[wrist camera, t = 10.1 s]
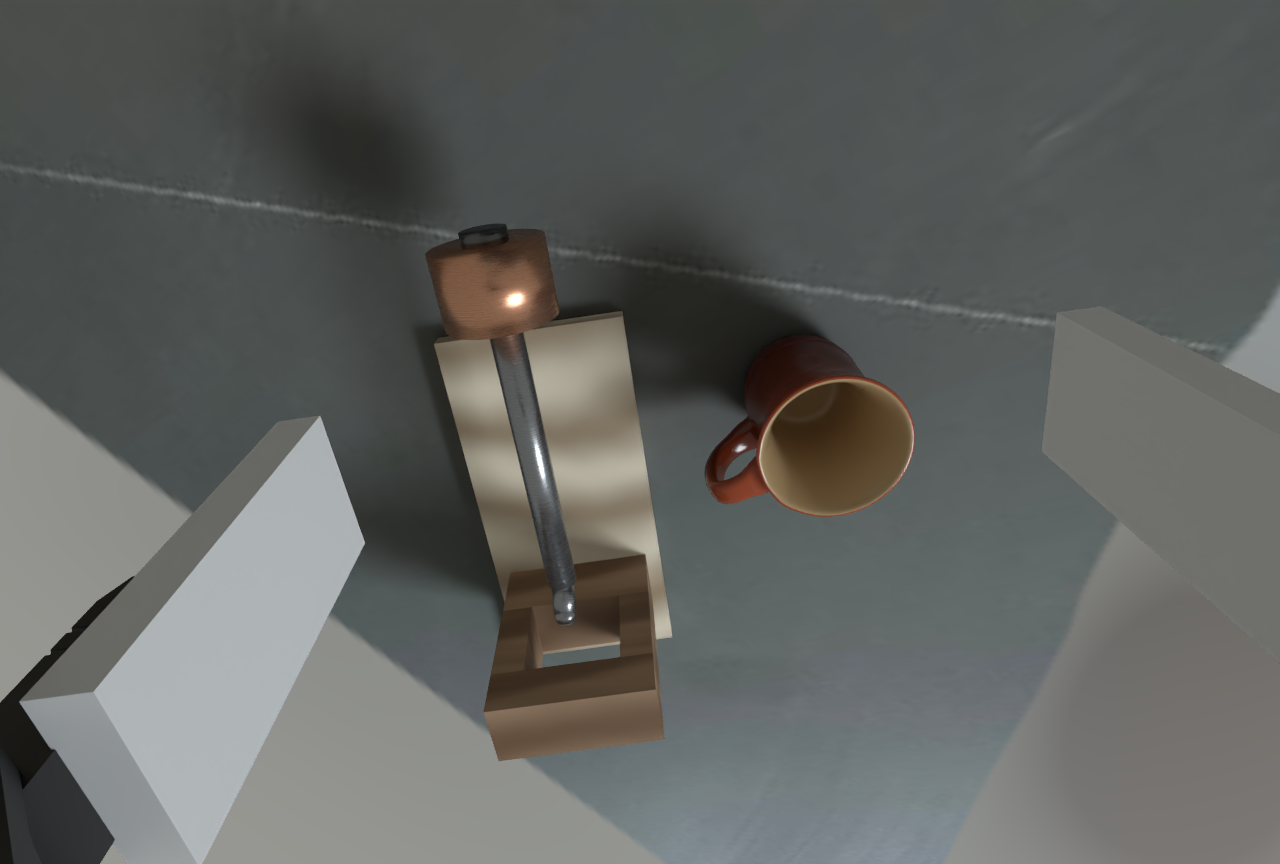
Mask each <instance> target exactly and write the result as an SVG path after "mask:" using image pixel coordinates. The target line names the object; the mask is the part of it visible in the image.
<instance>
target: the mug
mask: <svg viewBox="0 0 1280 864" xmlns="http://www.w3.org/2000/svg"><path fill="white" fill-rule="evenodd" d="M744 399H745V408H746V411H747V414H748V416H747V418H746V419H744V420H743V421H742V422H740V423H739V424H738V425H737V426H736V427H735V428H734V429H733V430H732V431H731V432H730V433H729V434H728V435H727V436H726V437H725V438H724V439H723V440H722V441H721V442H720V443H719V444H718V445H717V446H716V447H715V449H714V450H713V451H712V453H711V454H710V456H709V458H708V460H707V463H706V466H705V481H706V485H707V487H708V489H709V491H710V492H711V494H712V495H713V497H714V498H715V499H716V500H717V501H719V502H721V503H723V504H734V503H738V502H741V501H743V500H746V499H748V498H751V497H754V496H758V495H762V494H765V493H767V492H770V493H771V495H772V496H773V497H774V498H775V499H776V500H777V501H778V502H779V503H780V504H782V505H783V506H785V507H787V508H789V509H791V510H794V511H797V512H800V513H803V514H807V515H812V516H820V517H832V516H840V515H845V514H849V513H853V512H856V511H859V510H861V509H863V508H866V507H868V506H869V505H871V504H873V503H875V502H876V501H878V500H879V499H881V498H882V497H883V496H885V495H886V494H887V493H888V492H889V491H890V490H891V489H892V488H893V487H894V486H895V485H896V484H897V483H898V481H899V480H900V479H901V477H902V476H903V474H904V473H905V471H906V469H907V467H908V465H909V463H910V460H911V457H912V454H913V449H914V442H915V432H914V425H913V421H912V418H911V415H910V413H909V411H908V409H907V407H906V405H905V404H904V402H903V401H902V400H901V399H900V397H899V396H898V395H897V394H896V393H894V392H893V391H892V390H891V389H889V388H888V387H887V386H885V385H883V384H881V383H880V382H877V381H875V380H873V379H870V378H866V377H865V376H864V375H863V374H862V372H861V371H860V369H859V368H858V367H857V366H856V364H855V362H854V361H853V359H852V358H851V357H850V356H849V355H848V354H847V353H846V352H845V351H844V350H843V349H841V348H840V347H838V346H837V345H836V344H834V343H832V342H831V341H829V340H827V339H825V338H822V337H817V336H812V335H793V336H788V337H785V338H782V339H779V340H777V341H775V342H774V343H772V344H770V345H769V346H767V347H766V348H765V349H764V350H763V351H762V352H761V353H760V354H759V355H758V356H757V357H756V359H755V360H754V362H753V363H752V365H751V367H750V369H749V371H748V374H747V377H746V382H745V389H744ZM755 448H757V450H756V457H754V458H753V459H752V460H751V462H750V463H749V464H748V465H747V467H746V468H745V469H744V470H743V471H742V472H741V473H739V474H738V475H736V476H735V477H733V478H730V479H728V480H724V475H725V472H726V470H727V468H728V466H729V465H730V464H731V462H732V461H733V460H734V459H736V458H737V457H738V456H739V455H741V454H742V453H744V452H747V451H749V450H752V449H755Z"/></svg>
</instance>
